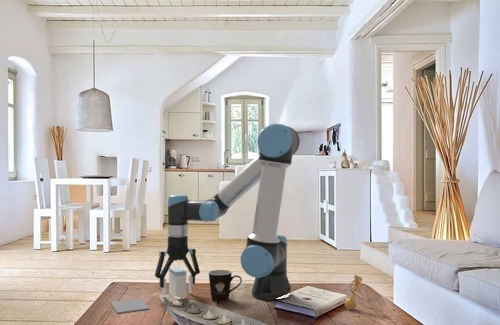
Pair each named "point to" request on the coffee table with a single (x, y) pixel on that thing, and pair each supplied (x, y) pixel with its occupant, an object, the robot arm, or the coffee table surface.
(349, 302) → the figurine
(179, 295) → the slab
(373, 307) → the coffee table surface
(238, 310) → the coffee table surface
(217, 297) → the coffee mug
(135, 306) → the felt mat
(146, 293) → the coffee table surface
